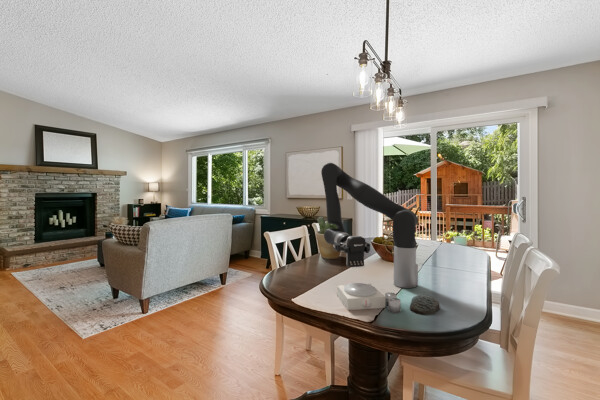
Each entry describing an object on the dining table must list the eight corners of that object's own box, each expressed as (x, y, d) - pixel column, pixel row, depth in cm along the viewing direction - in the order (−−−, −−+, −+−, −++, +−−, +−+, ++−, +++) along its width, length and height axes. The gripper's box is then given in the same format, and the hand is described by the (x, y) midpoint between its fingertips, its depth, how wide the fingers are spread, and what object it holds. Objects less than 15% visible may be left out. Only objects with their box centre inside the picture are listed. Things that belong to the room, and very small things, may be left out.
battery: (349, 268, 105) (349, 237, 104) (345, 265, 108) (345, 236, 108) (366, 267, 106) (367, 237, 106) (362, 264, 110) (362, 235, 109)
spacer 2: (397, 308, 101) (397, 297, 101) (402, 313, 97) (402, 301, 97) (386, 309, 100) (386, 298, 100) (391, 314, 96) (391, 302, 96)
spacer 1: (393, 302, 106) (393, 292, 106) (398, 307, 102) (398, 296, 102) (383, 303, 105) (383, 292, 105) (387, 307, 101) (388, 296, 101)
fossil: (443, 307, 103) (443, 296, 103) (430, 318, 93) (431, 307, 93) (415, 299, 110) (415, 289, 109) (401, 309, 100) (401, 299, 100)
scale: (370, 293, 115) (370, 281, 115) (386, 308, 101) (386, 294, 100) (337, 295, 113) (337, 283, 113) (348, 310, 99) (348, 296, 99)
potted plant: (344, 253, 187) (344, 216, 186) (345, 260, 168) (346, 219, 167) (316, 253, 188) (316, 216, 188) (315, 260, 170) (315, 218, 169)
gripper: (328, 233, 120) (339, 241, 104) (361, 233, 122) (376, 240, 106) (328, 251, 120) (339, 261, 104) (360, 250, 122) (376, 259, 106)
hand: (358, 250), depth 105 cm, fingers closed on battery, 7 cm apart
